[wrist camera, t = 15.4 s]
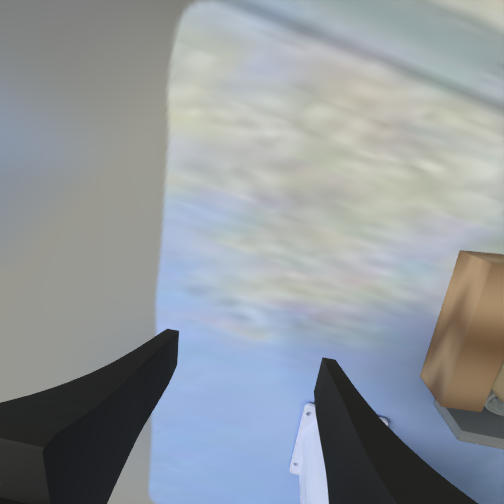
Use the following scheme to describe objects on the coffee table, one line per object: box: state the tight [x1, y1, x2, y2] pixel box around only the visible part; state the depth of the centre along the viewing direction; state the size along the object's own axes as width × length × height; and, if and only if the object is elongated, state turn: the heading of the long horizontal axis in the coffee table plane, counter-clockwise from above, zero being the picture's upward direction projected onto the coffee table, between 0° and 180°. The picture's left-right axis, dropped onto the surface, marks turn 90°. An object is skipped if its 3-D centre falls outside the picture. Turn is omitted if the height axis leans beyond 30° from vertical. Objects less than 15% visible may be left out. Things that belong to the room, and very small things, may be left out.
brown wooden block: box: [420, 250, 504, 412], centre depth 20 cm, size 12×3×4 cm, turn 175°
